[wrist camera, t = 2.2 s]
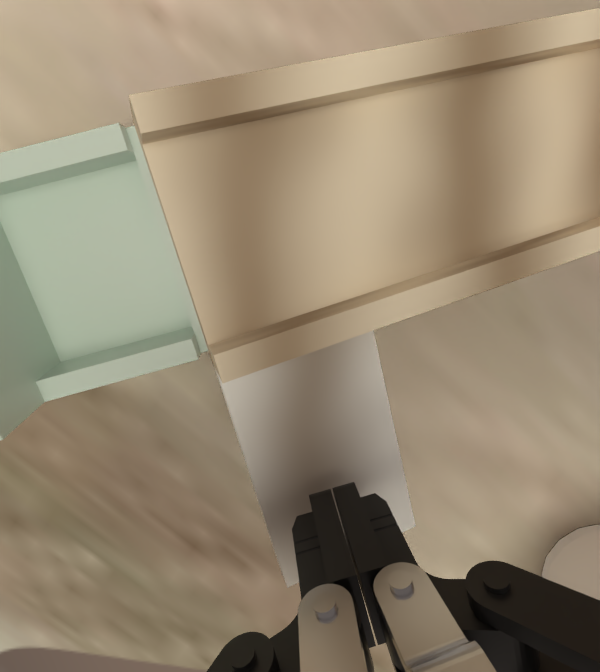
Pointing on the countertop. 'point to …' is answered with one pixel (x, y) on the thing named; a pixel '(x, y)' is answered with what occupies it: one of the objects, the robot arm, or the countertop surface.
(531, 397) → the countertop surface
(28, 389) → the bin
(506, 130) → the board
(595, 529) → the foam cup
